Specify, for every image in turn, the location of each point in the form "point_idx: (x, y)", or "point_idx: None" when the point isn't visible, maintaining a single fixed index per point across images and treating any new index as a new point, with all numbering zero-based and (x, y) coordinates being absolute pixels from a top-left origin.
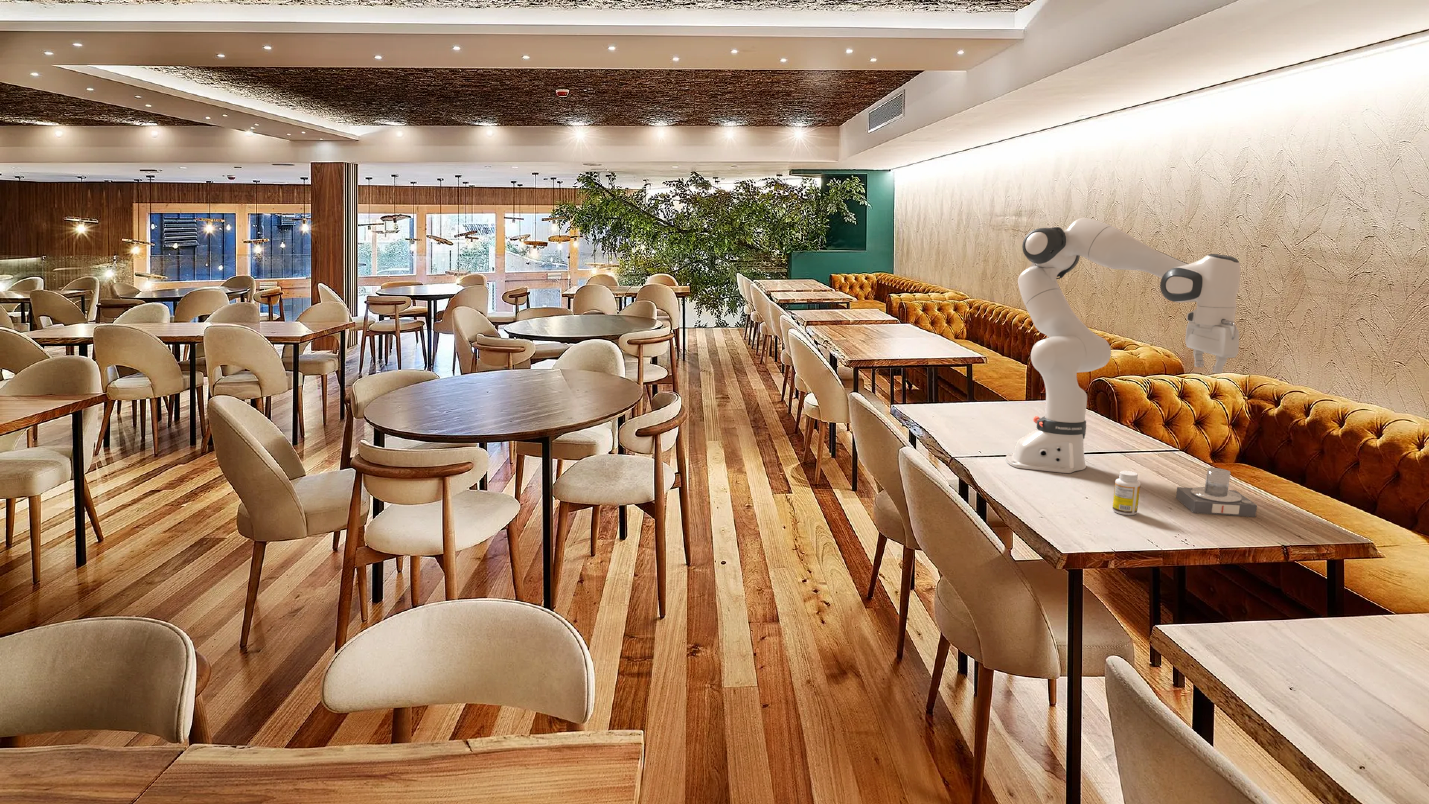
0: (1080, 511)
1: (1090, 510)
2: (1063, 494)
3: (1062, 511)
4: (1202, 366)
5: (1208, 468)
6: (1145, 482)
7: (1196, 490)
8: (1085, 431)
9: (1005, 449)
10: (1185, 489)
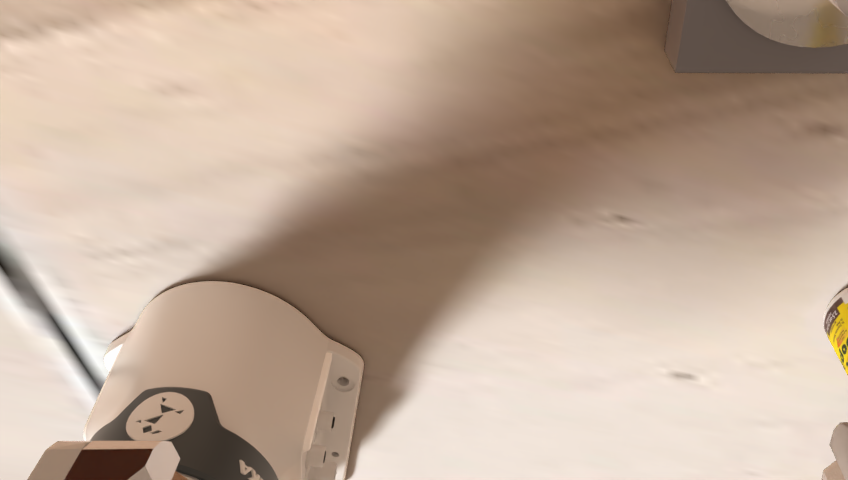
0: None
1: (834, 399)
2: (647, 427)
3: None
4: (164, 455)
5: (842, 10)
6: (413, 107)
7: (782, 15)
8: (192, 419)
9: None
10: (719, 46)
